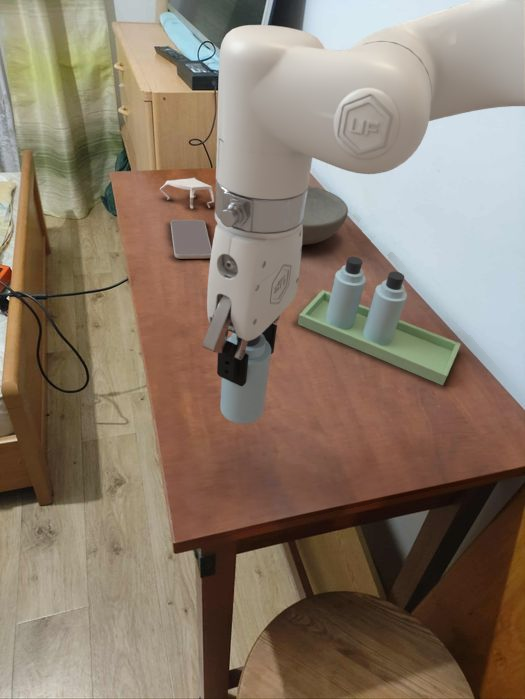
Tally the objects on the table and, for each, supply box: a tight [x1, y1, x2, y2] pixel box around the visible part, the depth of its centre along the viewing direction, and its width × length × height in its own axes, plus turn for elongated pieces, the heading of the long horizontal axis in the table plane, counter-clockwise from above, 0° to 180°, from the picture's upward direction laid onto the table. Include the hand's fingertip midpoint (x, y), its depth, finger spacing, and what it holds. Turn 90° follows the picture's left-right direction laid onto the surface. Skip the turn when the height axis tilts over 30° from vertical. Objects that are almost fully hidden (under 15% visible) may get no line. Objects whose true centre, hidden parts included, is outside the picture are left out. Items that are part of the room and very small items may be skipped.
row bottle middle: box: [363, 270, 408, 345], centre depth 83 cm, size 5×5×12 cm
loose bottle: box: [219, 332, 272, 425], centre depth 55 cm, size 5×5×12 cm
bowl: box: [302, 185, 349, 246], centre depth 109 cm, size 21×21×8 cm
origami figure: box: [159, 177, 215, 210], centre depth 117 cm, size 12×8×5 cm
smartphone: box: [170, 219, 212, 260], centre depth 105 cm, size 7×1×15 cm
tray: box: [297, 289, 462, 387], centre depth 86 cm, size 26×10×2 cm, turn 60°
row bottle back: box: [326, 256, 367, 329], centre depth 85 cm, size 5×5×12 cm
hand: (246, 362), depth 54 cm, fingers closed on loose bottle, 5 cm apart
